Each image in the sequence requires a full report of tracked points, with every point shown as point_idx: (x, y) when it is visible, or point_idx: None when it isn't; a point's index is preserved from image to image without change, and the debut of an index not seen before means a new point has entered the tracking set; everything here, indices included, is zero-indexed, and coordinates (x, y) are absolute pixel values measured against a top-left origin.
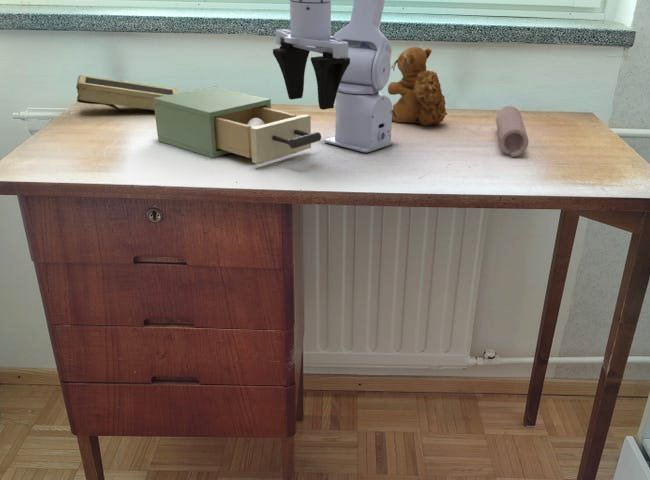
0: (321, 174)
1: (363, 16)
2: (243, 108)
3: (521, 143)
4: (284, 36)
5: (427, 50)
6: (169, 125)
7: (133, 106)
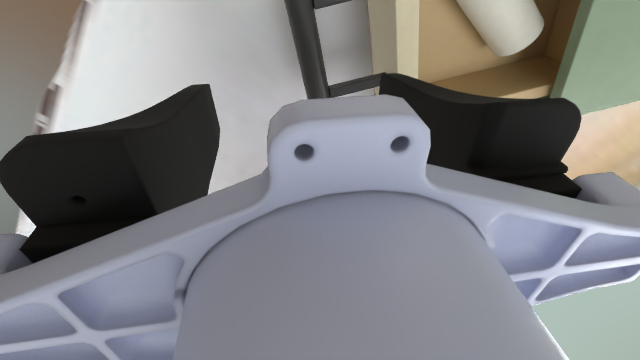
0: (240, 37)
1: None
2: (581, 10)
3: None
4: (544, 199)
5: None
6: None
7: None
